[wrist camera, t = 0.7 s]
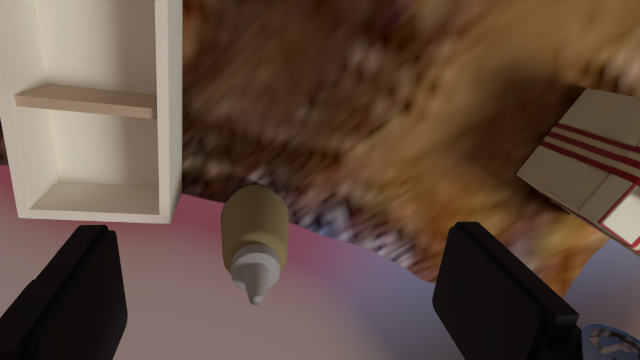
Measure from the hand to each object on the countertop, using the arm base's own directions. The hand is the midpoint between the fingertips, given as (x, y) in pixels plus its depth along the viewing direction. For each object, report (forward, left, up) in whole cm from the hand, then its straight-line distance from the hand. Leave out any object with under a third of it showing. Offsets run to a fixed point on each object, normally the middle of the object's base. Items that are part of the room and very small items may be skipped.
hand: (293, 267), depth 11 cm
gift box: (+4, +45, -36) cm, 58 cm away
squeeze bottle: (+16, 0, -36) cm, 39 cm away
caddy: (+3, -16, -35) cm, 39 cm away
